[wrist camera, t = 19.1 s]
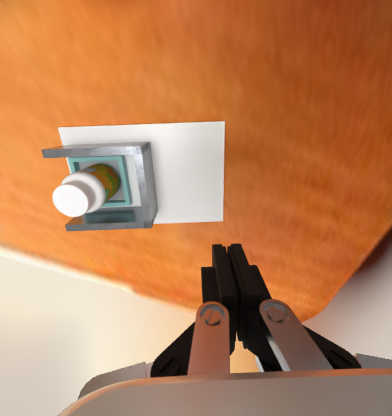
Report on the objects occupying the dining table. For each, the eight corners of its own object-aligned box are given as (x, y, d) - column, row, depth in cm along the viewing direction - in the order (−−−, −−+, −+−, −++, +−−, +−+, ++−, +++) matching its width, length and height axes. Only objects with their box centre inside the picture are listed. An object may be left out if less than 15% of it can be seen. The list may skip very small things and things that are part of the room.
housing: (150, 141, 30) (140, 145, 25) (158, 211, 35) (151, 227, 29) (68, 144, 30) (41, 149, 25) (87, 213, 35) (66, 231, 29)
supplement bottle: (124, 194, 33) (99, 220, 24) (92, 197, 33) (55, 224, 24) (117, 161, 31) (87, 176, 22) (82, 164, 31) (38, 180, 22)
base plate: (223, 121, 31) (226, 121, 28) (222, 218, 37) (224, 225, 34) (62, 127, 31) (51, 127, 28) (88, 223, 37) (80, 230, 34)
